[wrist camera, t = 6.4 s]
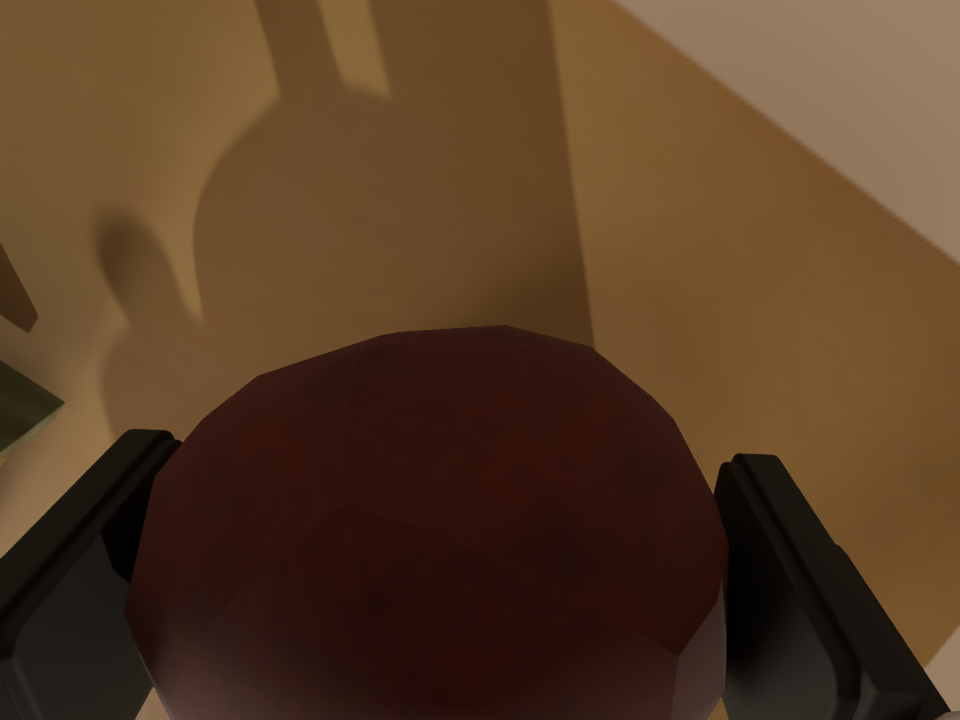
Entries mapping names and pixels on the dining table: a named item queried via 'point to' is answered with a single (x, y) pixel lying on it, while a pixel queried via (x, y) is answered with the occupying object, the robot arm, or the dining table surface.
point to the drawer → (22, 409)
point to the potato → (434, 543)
